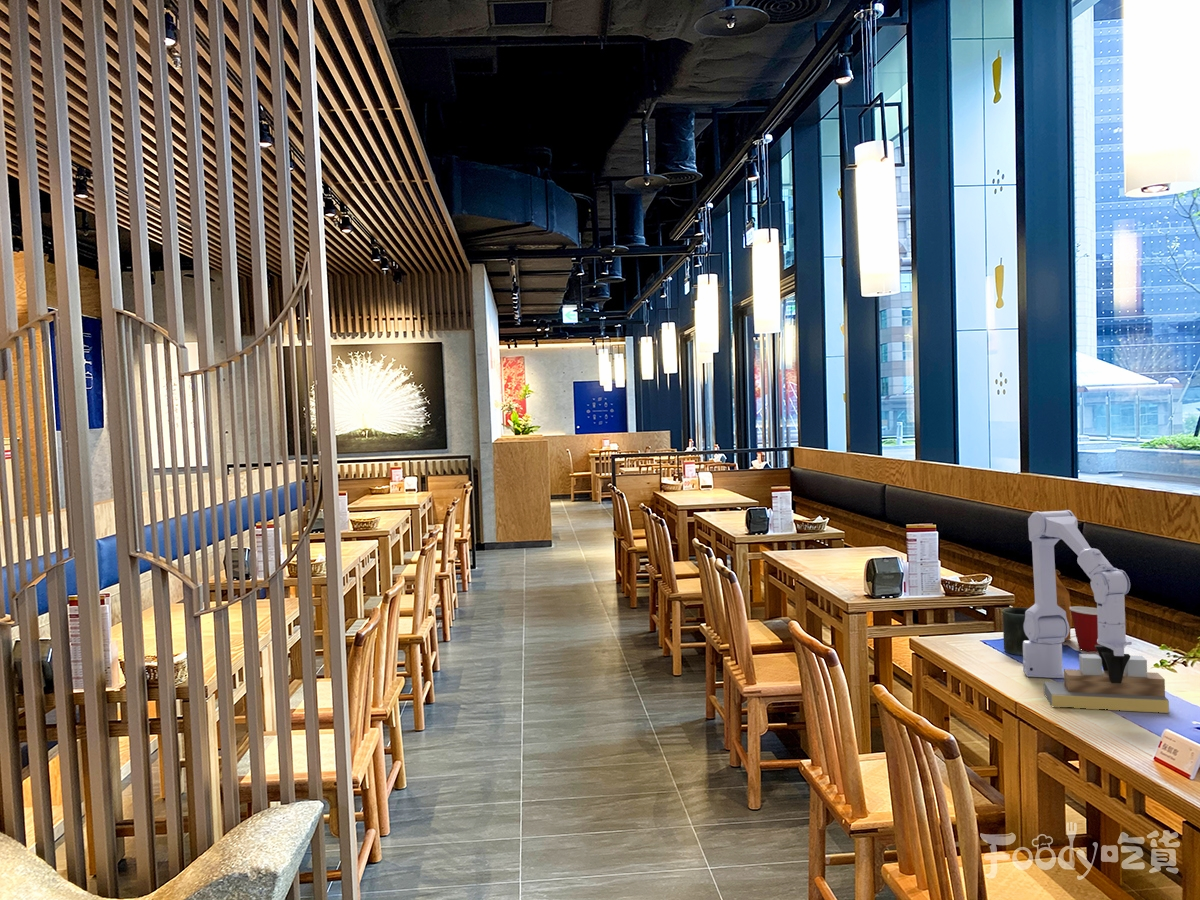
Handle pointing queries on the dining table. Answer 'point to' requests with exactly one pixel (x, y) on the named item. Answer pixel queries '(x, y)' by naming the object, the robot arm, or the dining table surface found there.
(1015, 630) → the mug
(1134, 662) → the block
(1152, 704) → the dock
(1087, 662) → the block
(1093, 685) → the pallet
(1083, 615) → the plastic cup
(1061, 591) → the coffee package
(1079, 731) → the dining table surface
